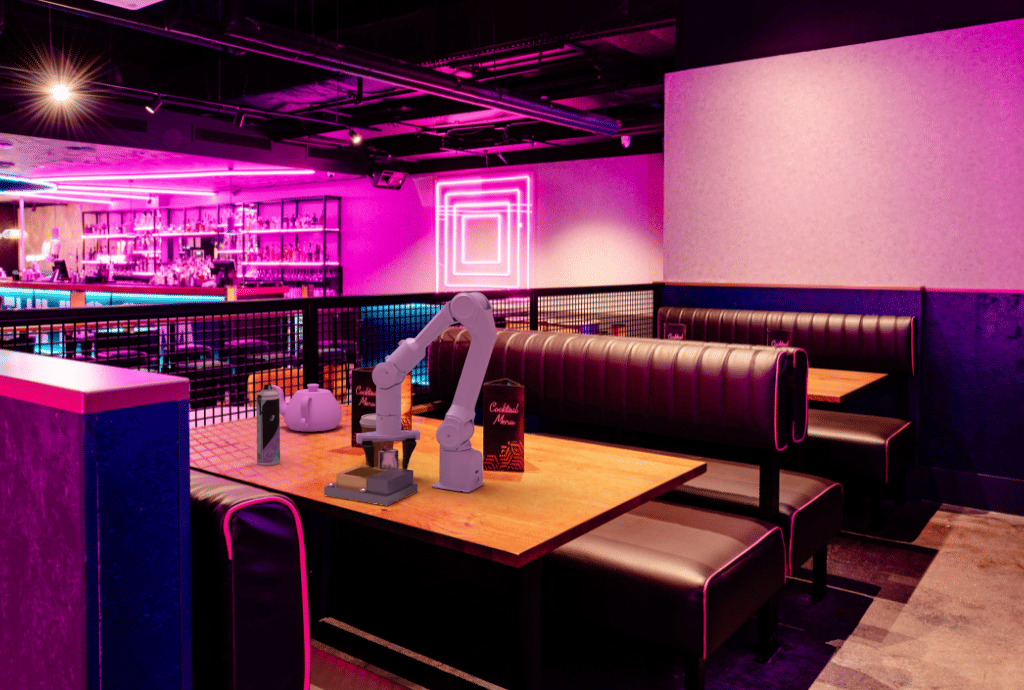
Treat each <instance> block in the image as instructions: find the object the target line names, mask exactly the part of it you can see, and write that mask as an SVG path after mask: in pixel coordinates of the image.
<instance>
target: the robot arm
mask: <svg viewBox="0 0 1024 690" xmlns="http://www.w3.org/2000/svg"><path fill="white" fill-rule="evenodd" d="M488 299H489V298H488V297H486V296H485V294H483V293H481V292H478V291H472V292H459V293H457V294H456V295H455V296H454V297H452V299H451V300H449V301H448V302H446V303H445V304H444V305H443V307H441V309H440V310H438V312H437V313H436V314H435V315H434V316H433V318H432V319H431V320H430V321H429V322H428V323H427V324H426V325H425V326H424V327H423V329H422V330H421V331H420V332H419V333H418V334H417V336H415V337H414V338H413V337H408V338H406V339H401V340H400V341H399V342H398V343H397V344H398V347H397V348H396V349H395V350H394V351H393V352H392V353H391V354H390V355H389V354H388V355H386V356H385V357H384V360H385V362H379V363H378V364H377V363H376V365H375V367H374V368H373V370H372V373H371V378H372V379H371V380H372V381H373V383H374V385H375V386H376V388H375V389H376V390H375V394H376V395H375V413H376V431H375V432H367V433H362V432H361V433H356V436H355V438H356V439H355V440H356V441H355V442H356V443H357V444H360V445H361V447H362V450H363V452H364V456H365V455H366V457H367V461H368V464H369V465H368V467H373V468H375V466H374V449H375V447H374V446H373V443H372V442H380V441H394V442H395V441H397V442H398V441H401V446H402V462H401V463H402V464H401V466H402V468H401V469H409V464H410V460H411V457H412V455H413V453H414V450H415V449H416V447H417V441H421V431H420V430H419V429H418V430H417V429H415V430H414V429H413V430H409V429H407V430H406V429H405V430H402V384H403V382H404V381H405V380H406V376H407V374H409V372H411V371H412V370H413V369H414V368H415V367H416V366H417V365H418V364H420V362H421V361H422V360H423V359H424V358H425V357H426V348H427V347H428V346H429V345H430V344H431V343H432V342H433V341H435V340H436V339H437V338H438V337H439V336H440V335H441V334H442V333H444V331H446V329H448V327H449V326H451V325H454V324H458V323H460V324H461V325H463V327H465V329H466V331H467V332H468V334H469V335H470V337H471V342H470V345H469V349H468V352H467V355H466V358H465V361H464V365H463V368H462V371H461V373H460V374H461V375H460V378H459V380H458V384H457V387H456V390H455V394H454V397H453V400H452V403H451V405H450V407H449V409H448V410H447V412H446V413H445V416H444V420H443V422H442V423H440V425H439V426H438V427H437V429H436V431H435V437H436V441H437V443H438V445H439V466H438V467H439V474H438V475H439V479H438V480H439V481H438V482H435V483H433V484H432V485H431V487H432V488H435V489H441V490H442V489H443V490H446V491H447V490H448V491H455V492H460V491H463V493H470V492H472V491H474V490H477V489H478V488H479V487H481V486H483V485H485V483H484V481H483V480H484V479H483V475H484V472H483V471H484V457H483V453H482V451H480V450H478V449H474V448H472V442H471V440H470V439H472V438H473V436H474V433H475V429H476V428H475V423H474V421H475V416H476V412H475V411H476V410H475V408H476V404H477V401H478V397H479V395H480V392H481V388H482V385H483V382H484V379H485V377H486V376H485V375H486V372H487V369H488V366H489V363H490V359H491V355H492V353H493V351H494V348H495V344H496V340H497V336H498V333H497V328H496V323H495V318H494V314H493V309H494V308H493V306H492V303H491V302H490V301H489V300H488Z"/></svg>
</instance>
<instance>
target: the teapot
mask: <svg viewBox="0 0 1024 690" xmlns="http://www.w3.org/2000/svg"><path fill="white" fill-rule="evenodd" d="M270 384H271V383H270ZM306 386H307V388H305V389H304V388H303V389H299V390H296V391H295V392H294V393H293V394H292V397H291V398H290V400H289V402H288V403H286V401H285V398H284V397H285V396H284V391H283V389H282V388H281V387H280V386H278V385H275V384H271V387H272V388H273V389H274V391H276V392H277V393H279V405H280V415H281V416H282V418H283V421H284V423H285V424H286V426H287V428H289V430H292V431H295V432H298V431H301V432H305V433H306V432H311V433H312V432H317V431H324V432H326V431H329V430H333V429H336V428H337V427H338V426H339V425H340V424H341V422H342V420H343V415H342V414H343V413H342V410H341V409H342V408H341V407H340V403H339V402H338V400H337V398H336V397H335V396H334V394H333V392H332V391H331V390H330V389H325V388H319V386H320V384H318V383H308V384H307V385H306Z"/></svg>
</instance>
